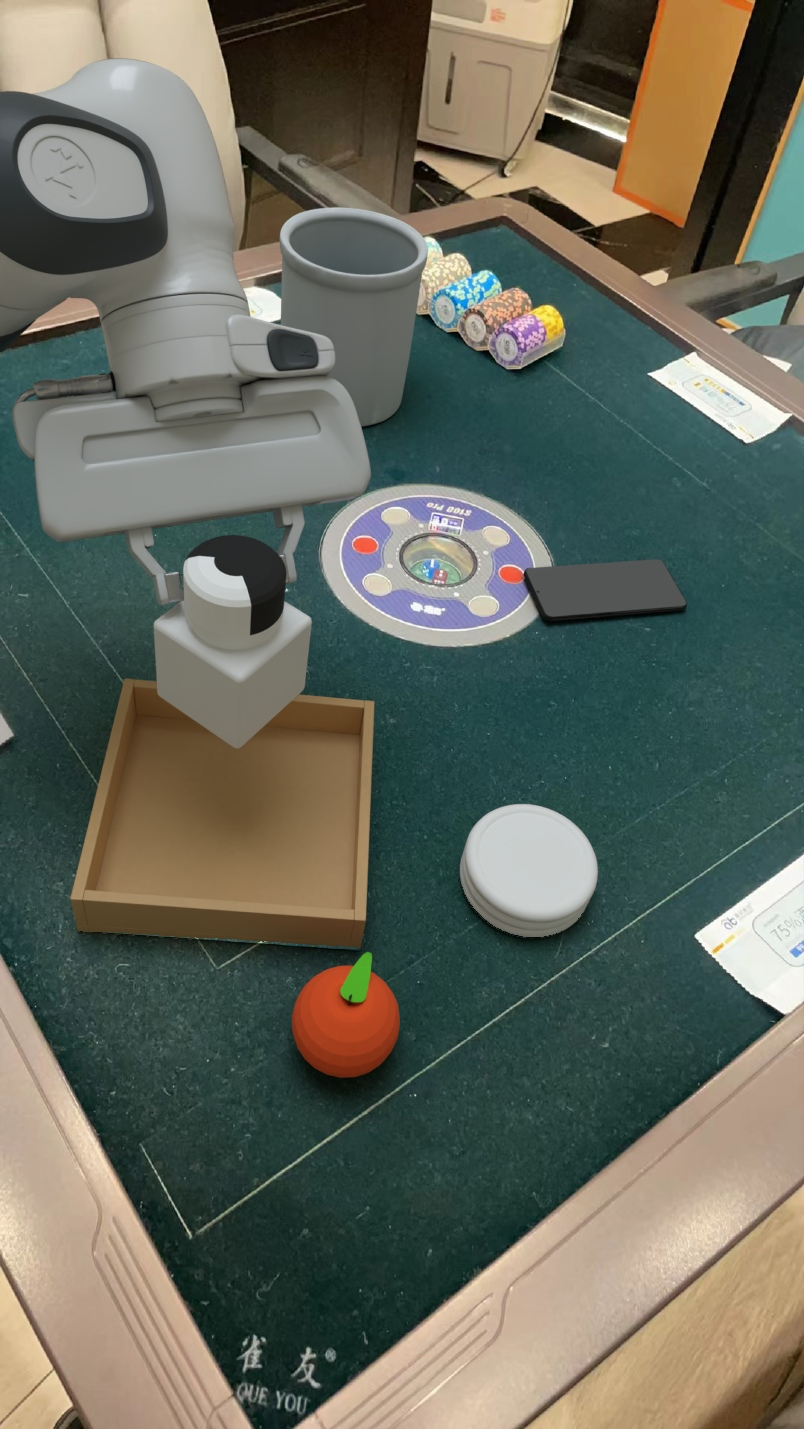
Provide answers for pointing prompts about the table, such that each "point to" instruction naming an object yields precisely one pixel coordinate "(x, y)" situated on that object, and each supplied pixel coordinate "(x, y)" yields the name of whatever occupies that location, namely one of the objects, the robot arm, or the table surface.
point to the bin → (231, 825)
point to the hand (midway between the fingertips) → (229, 593)
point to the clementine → (346, 1020)
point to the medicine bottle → (232, 640)
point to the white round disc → (528, 870)
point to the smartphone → (603, 589)
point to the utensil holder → (356, 297)
